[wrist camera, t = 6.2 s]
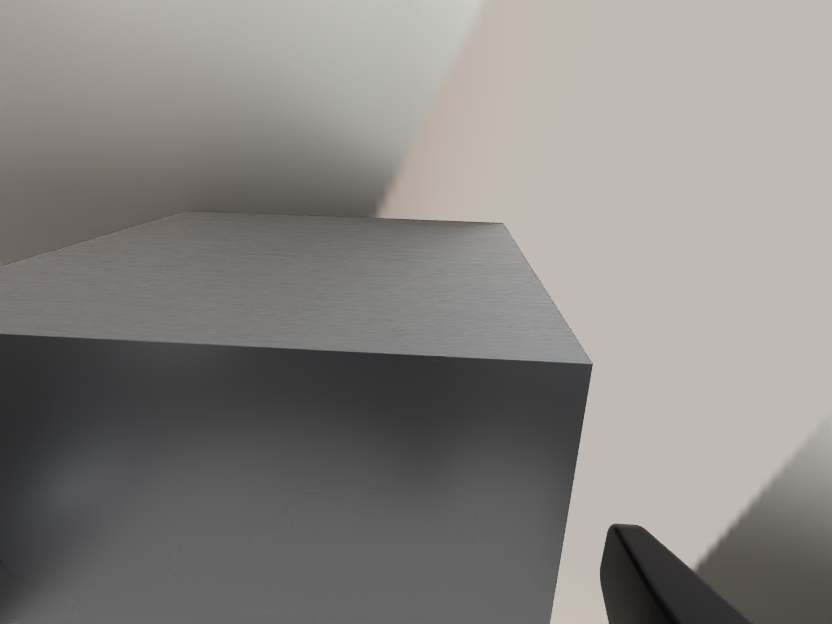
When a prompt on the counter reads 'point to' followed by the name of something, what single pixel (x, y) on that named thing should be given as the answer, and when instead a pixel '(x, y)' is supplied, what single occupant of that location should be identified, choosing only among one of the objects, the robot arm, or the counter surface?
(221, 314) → the gray rectangular block
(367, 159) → the counter surface
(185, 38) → the counter surface
